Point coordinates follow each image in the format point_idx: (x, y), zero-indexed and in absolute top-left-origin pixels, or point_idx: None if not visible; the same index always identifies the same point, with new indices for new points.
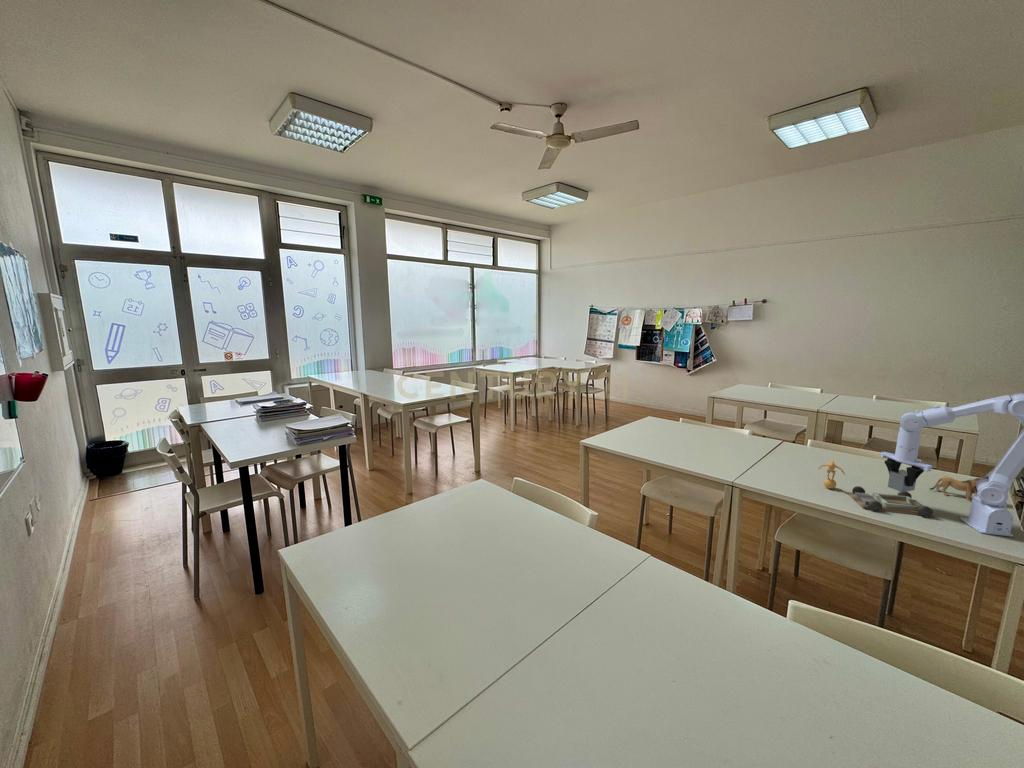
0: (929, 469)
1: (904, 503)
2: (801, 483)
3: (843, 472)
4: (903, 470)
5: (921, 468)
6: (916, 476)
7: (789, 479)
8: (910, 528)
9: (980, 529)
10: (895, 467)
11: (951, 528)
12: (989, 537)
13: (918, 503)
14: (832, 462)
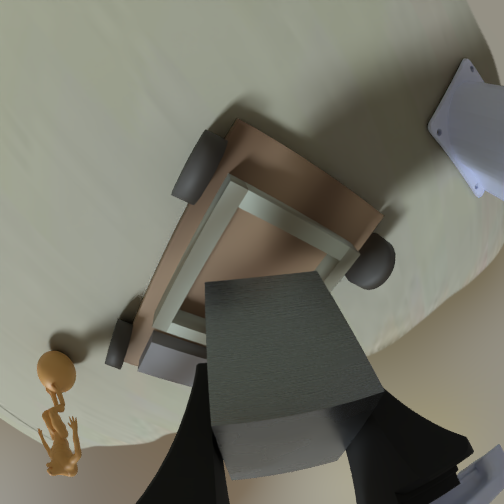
0: (490, 466)
1: (259, 238)
2: (44, 387)
3: (77, 435)
4: (243, 433)
5: (448, 486)
6: (390, 412)
7: (25, 388)
8: (367, 355)
9: (477, 181)
10: (224, 491)
11: (431, 248)
12: (486, 200)
13: (284, 158)
14: (59, 474)
